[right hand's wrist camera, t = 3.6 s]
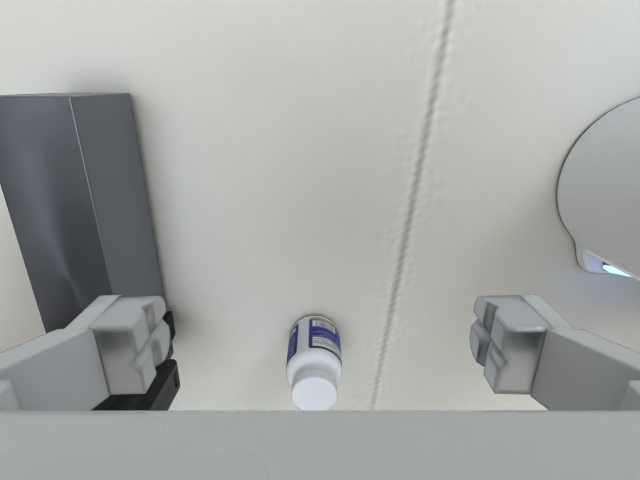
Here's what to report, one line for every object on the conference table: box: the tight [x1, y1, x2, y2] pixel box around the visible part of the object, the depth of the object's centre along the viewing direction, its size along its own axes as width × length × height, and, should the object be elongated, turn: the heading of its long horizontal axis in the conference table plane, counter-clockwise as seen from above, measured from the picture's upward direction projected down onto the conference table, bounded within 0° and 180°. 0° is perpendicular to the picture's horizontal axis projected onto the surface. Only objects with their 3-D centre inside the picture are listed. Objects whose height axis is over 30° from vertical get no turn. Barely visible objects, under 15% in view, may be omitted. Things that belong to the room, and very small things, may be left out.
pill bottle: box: [286, 316, 342, 411], centre depth 38 cm, size 5×5×9 cm
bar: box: [0, 93, 164, 334], centre depth 33 cm, size 26×6×9 cm, turn 0°
